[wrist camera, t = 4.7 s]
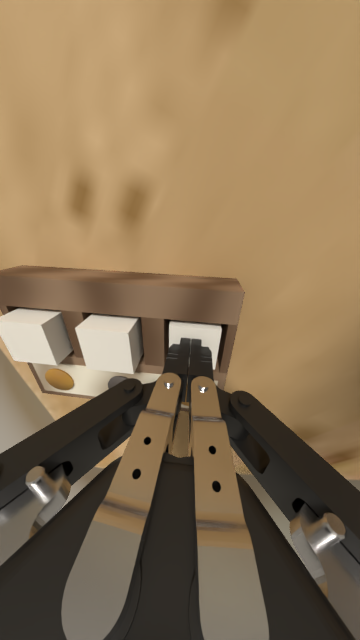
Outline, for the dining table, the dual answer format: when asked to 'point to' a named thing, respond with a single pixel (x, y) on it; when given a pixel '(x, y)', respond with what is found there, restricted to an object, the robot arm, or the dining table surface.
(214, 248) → the dining table surface
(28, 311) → the key
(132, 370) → the key middle
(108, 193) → the dining table surface
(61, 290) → the button board
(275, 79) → the dining table surface
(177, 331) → the key
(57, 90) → the dining table surface
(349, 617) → the robot arm
